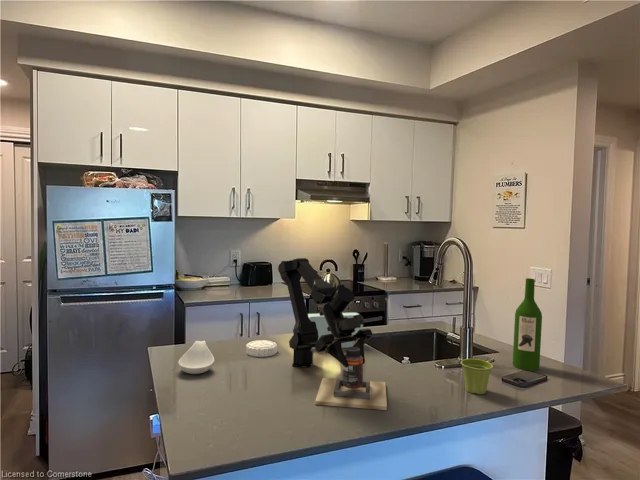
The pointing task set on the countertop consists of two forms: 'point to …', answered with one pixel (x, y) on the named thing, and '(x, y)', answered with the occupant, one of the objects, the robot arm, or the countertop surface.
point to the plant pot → (476, 375)
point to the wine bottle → (527, 331)
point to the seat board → (352, 394)
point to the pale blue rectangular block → (323, 326)
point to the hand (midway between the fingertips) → (355, 365)
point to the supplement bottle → (353, 369)
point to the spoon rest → (197, 359)
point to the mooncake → (261, 348)
